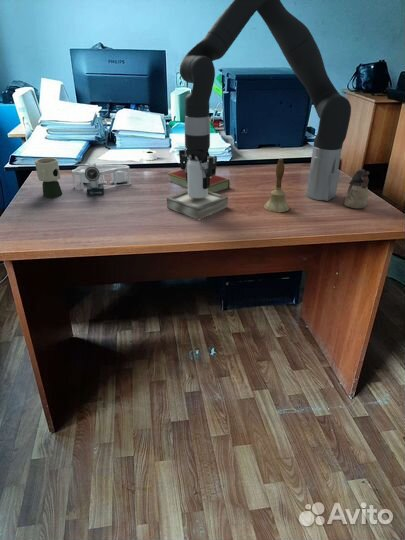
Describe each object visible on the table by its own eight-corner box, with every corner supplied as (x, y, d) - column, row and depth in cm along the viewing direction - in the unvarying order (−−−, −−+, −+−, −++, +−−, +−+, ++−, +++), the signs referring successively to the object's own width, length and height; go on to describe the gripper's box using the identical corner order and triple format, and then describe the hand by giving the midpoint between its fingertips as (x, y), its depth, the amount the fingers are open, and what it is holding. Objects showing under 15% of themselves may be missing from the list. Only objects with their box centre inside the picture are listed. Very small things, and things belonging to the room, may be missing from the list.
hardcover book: (190, 176, 160) (190, 166, 158) (229, 189, 147) (229, 178, 145) (167, 183, 153) (167, 172, 151) (206, 197, 140) (206, 186, 138)
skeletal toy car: (132, 181, 153) (130, 162, 150) (129, 191, 144) (127, 171, 140) (79, 182, 152) (76, 163, 148) (73, 192, 143) (70, 172, 139)
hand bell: (270, 213, 127) (275, 164, 119) (260, 204, 134) (264, 156, 125) (293, 211, 129) (300, 162, 121) (282, 202, 136) (288, 154, 127)
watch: (87, 200, 137) (82, 169, 130) (88, 190, 143) (83, 160, 137) (104, 199, 137) (100, 168, 131) (104, 189, 144) (100, 159, 138)
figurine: (356, 199, 138) (363, 165, 131) (370, 207, 132) (379, 171, 126) (339, 202, 135) (346, 167, 129) (353, 209, 130) (361, 173, 124)
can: (207, 199, 126) (208, 161, 119) (187, 199, 126) (186, 161, 119) (207, 192, 131) (208, 155, 125) (188, 191, 131) (187, 155, 125)
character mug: (60, 203, 133) (52, 164, 127) (38, 203, 133) (30, 165, 126) (67, 192, 143) (61, 155, 136) (47, 192, 142) (39, 156, 136)
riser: (227, 207, 131) (227, 197, 129) (198, 220, 122) (198, 209, 120) (196, 197, 139) (196, 187, 137) (167, 208, 130) (166, 197, 128)
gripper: (224, 133, 116) (222, 188, 125) (188, 126, 125) (189, 178, 133) (207, 137, 112) (206, 194, 120) (171, 130, 120) (173, 183, 128)
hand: (197, 185), depth 127 cm, fingers closed on can, 6 cm apart
